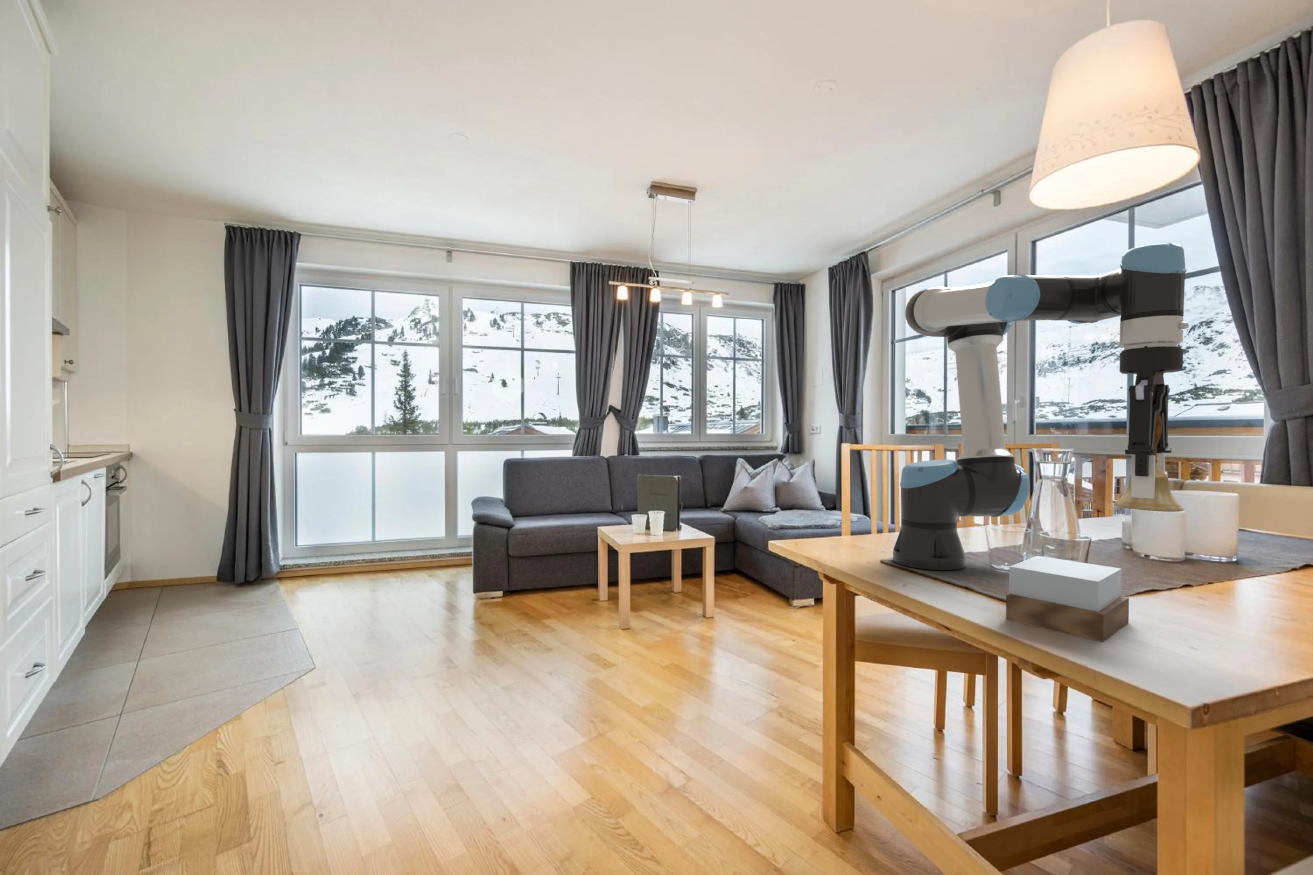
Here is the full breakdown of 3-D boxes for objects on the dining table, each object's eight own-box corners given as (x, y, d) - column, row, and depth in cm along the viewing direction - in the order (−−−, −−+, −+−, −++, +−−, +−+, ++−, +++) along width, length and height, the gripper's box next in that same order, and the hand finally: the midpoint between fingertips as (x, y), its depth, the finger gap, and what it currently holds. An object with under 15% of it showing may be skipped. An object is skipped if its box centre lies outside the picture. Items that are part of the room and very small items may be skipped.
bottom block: (1006, 621, 95) (1006, 594, 95) (1036, 605, 103) (1036, 580, 103) (1103, 645, 85) (1103, 614, 85) (1128, 625, 93) (1128, 597, 93)
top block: (1009, 593, 95) (1009, 566, 95) (1036, 580, 103) (1036, 555, 103) (1098, 611, 86) (1098, 581, 86) (1121, 596, 93) (1121, 568, 93)
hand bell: (1184, 507, 91) (1186, 405, 91) (1182, 513, 85) (1185, 405, 85) (1117, 502, 97) (1119, 406, 96) (1111, 508, 91) (1113, 406, 90)
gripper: (1169, 340, 81) (1166, 504, 82) (1194, 349, 93) (1191, 492, 94) (1103, 345, 87) (1101, 498, 88) (1135, 353, 99) (1132, 488, 100)
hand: (1147, 495), depth 91 cm, fingers closed on hand bell, 6 cm apart
